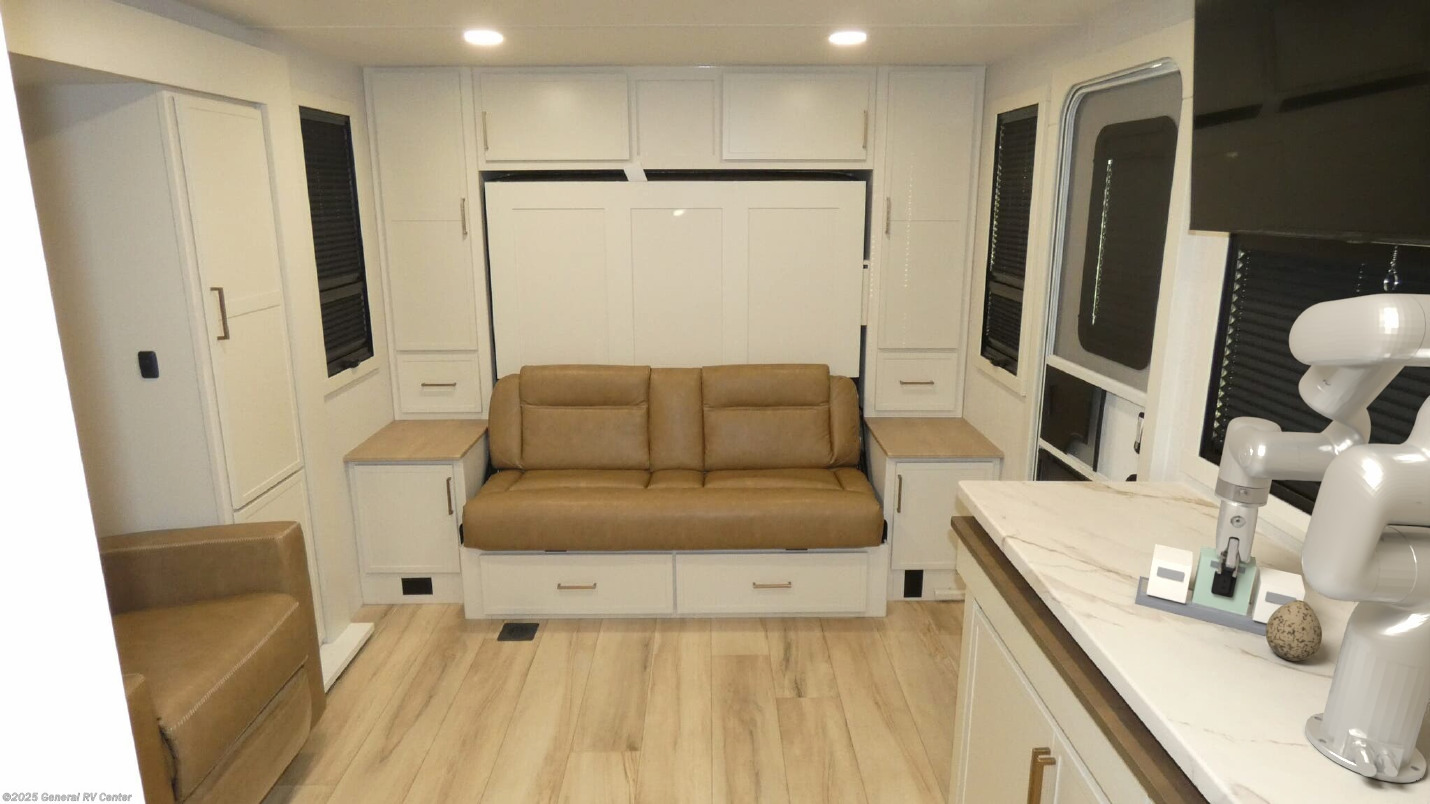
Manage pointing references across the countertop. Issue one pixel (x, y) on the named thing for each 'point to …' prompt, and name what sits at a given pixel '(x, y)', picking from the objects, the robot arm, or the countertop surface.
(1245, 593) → the block
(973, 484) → the countertop surface
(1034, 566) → the countertop surface
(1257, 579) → the board
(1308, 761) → the countertop surface
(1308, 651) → the decorative egg
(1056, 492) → the countertop surface
